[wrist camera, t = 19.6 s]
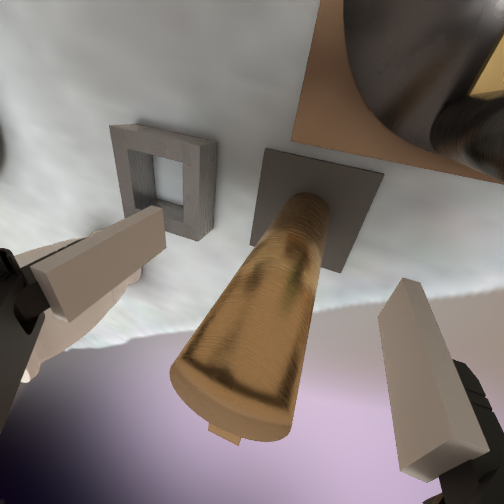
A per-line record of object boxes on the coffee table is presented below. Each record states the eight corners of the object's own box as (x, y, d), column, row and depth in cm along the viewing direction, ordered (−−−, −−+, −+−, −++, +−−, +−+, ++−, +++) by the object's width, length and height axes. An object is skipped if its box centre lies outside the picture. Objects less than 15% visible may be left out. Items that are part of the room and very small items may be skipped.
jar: (154, 249, 29) (14, 347, 17) (144, 299, 35) (35, 398, 23) (84, 206, 30) (-101, 271, 17) (86, 263, 36) (-51, 340, 23)
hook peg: (288, 187, 19) (165, 336, 6) (336, 199, 19) (308, 397, 6) (273, 249, 23) (174, 429, 10) (314, 262, 22) (264, 476, 9)
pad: (266, 148, 19) (264, 149, 19) (383, 173, 17) (384, 174, 17) (250, 243, 24) (249, 244, 24) (340, 270, 22) (340, 273, 22)
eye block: (135, 123, 22) (109, 125, 19) (217, 141, 20) (199, 145, 18) (145, 208, 26) (124, 217, 24) (212, 228, 25) (198, 241, 22)
